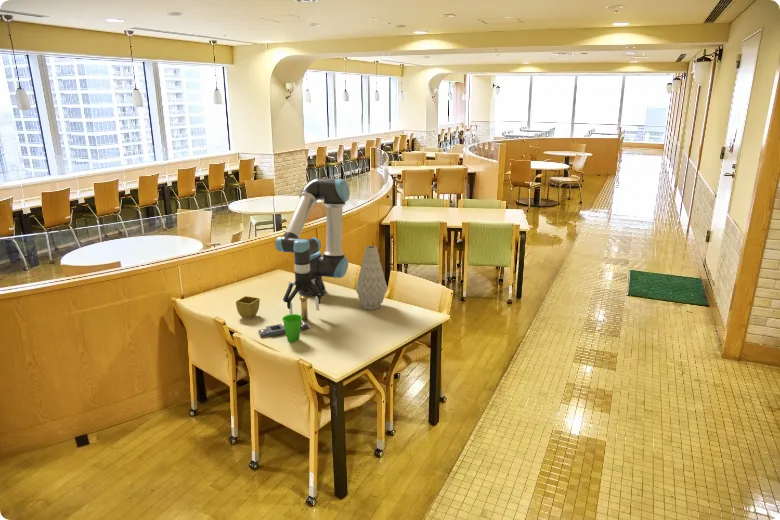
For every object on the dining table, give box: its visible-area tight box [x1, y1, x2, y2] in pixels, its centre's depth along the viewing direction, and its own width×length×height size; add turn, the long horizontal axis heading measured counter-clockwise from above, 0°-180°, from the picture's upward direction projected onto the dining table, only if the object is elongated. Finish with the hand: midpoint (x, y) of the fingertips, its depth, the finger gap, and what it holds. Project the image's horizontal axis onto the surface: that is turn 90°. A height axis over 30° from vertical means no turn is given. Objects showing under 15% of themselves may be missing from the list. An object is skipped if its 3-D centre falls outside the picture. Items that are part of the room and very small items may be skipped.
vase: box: [355, 245, 388, 311], centre depth 276 cm, size 17×17×33 cm
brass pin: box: [299, 295, 309, 322], centre depth 262 cm, size 4×4×12 cm
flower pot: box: [235, 295, 261, 319], centre depth 266 cm, size 9×9×9 cm
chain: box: [257, 321, 309, 338], centre depth 250 cm, size 23×7×2 cm, turn 117°
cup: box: [281, 313, 303, 343], centre depth 240 cm, size 9×9×11 cm
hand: (304, 312), depth 263 cm, fingers open, 13 cm apart
